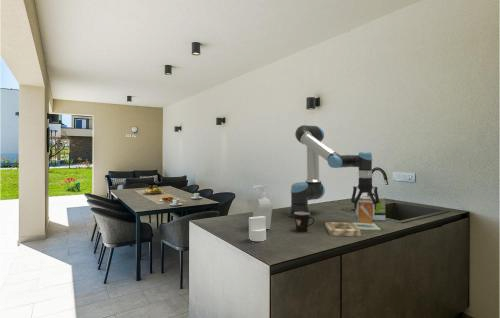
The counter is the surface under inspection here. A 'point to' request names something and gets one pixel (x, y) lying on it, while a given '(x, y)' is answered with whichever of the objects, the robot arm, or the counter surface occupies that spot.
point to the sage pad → (366, 226)
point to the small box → (365, 212)
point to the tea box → (377, 208)
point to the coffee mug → (302, 221)
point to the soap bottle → (262, 206)
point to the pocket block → (342, 229)
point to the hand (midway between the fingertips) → (365, 214)
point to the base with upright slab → (257, 228)
